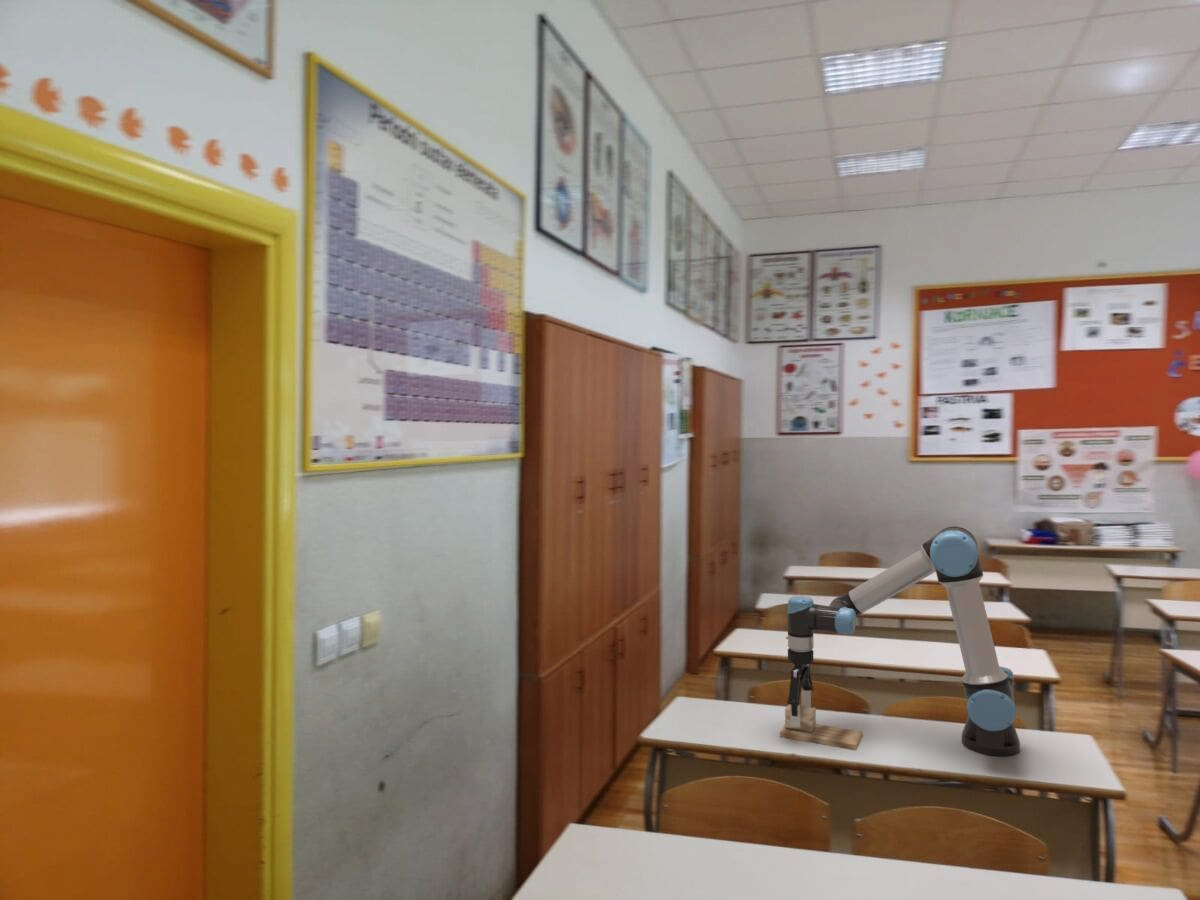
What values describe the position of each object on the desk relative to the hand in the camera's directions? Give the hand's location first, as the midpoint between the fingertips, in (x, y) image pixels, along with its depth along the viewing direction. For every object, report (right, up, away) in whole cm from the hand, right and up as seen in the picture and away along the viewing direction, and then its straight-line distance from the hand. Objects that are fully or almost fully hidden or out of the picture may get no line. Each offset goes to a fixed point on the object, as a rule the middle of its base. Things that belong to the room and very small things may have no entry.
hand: (800, 718), depth 240 cm
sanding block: (0, -3, 0) cm, 3 cm away
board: (+5, -4, -3) cm, 7 cm away
